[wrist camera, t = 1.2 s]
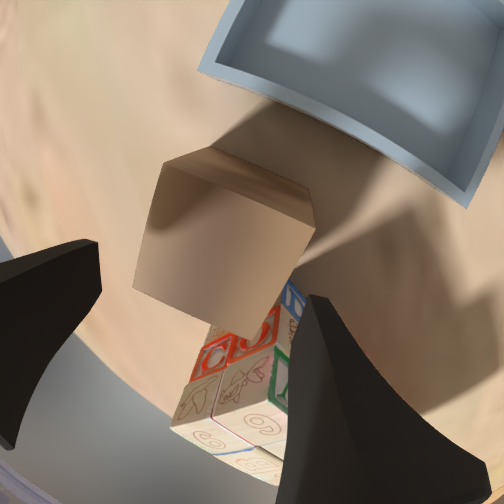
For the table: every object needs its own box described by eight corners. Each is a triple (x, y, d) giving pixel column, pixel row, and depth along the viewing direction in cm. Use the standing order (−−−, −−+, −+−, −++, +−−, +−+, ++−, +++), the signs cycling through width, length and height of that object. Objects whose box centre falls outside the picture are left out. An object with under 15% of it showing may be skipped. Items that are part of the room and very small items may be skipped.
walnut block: (308, 189, 15) (316, 228, 10) (265, 274, 18) (251, 341, 13) (209, 146, 15) (163, 162, 10) (178, 235, 18) (132, 287, 12)
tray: (503, 31, 8) (529, 24, 6) (441, 193, 14) (466, 209, 11) (303, -81, 7) (303, -107, 5) (214, 79, 13) (196, 70, 11)
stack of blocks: (211, 315, 20) (145, 477, 9) (285, 270, 18) (261, 471, 7) (349, 439, 25) (351, 539, 14) (403, 418, 23) (418, 523, 12)
